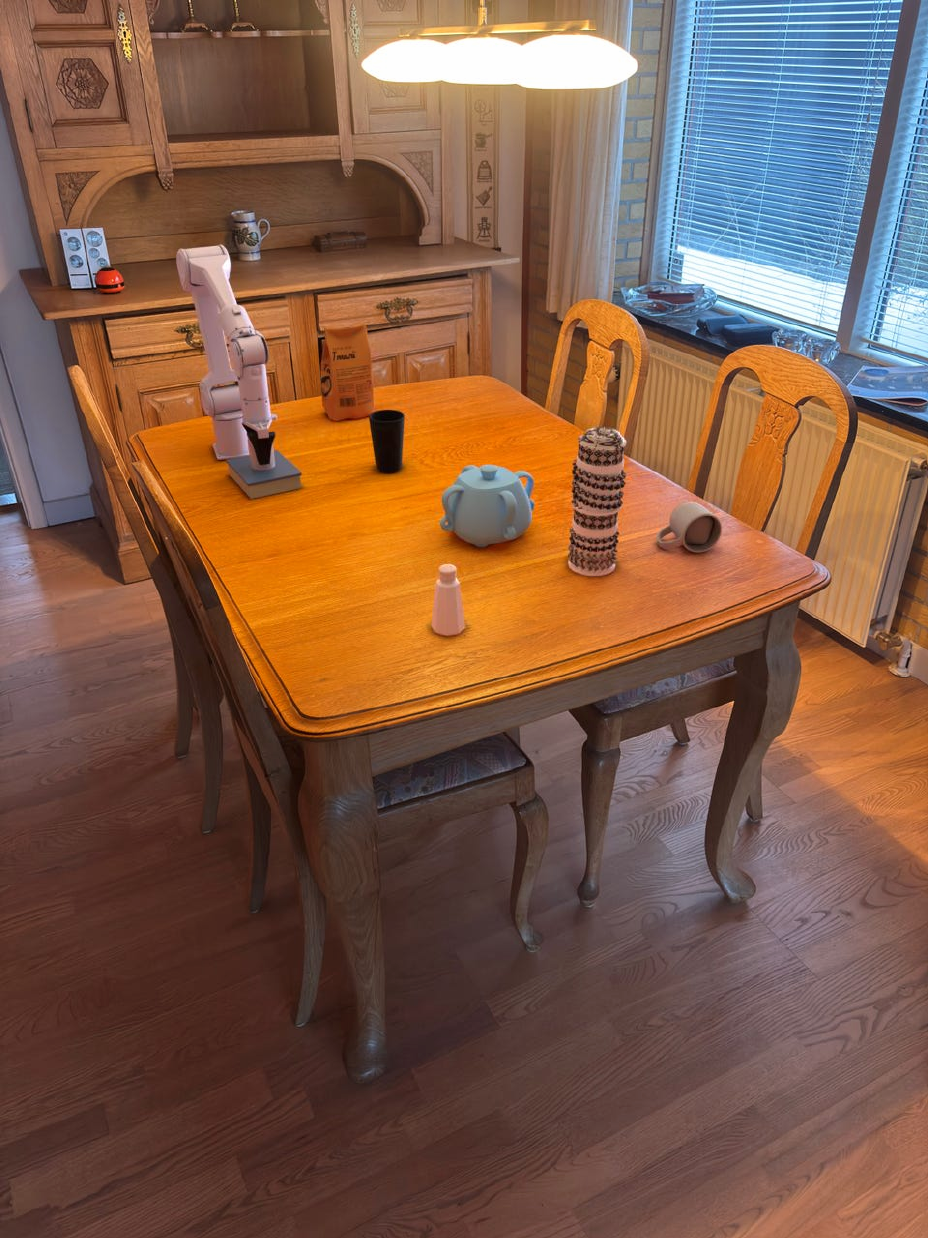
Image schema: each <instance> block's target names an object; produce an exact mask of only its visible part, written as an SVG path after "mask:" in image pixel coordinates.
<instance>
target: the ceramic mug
mask: <svg viewBox="0 0 928 1238" xmlns="http://www.w3.org/2000/svg"><path fill="white" fill-rule="evenodd" d="M722 531H723V526H722V522H721V520H720V518H719V517H718V516H717V515H715V514H714V513H713V512H712V511H710V510H709V509H708V508H706V507H705V506H704V505H702V504H701V503H698V502H695V501H691V500H689V501H684V502H681V503H680V504H678V505H677V506H676V507H674V508H673V510H672V512H671V513H670V516H669V525H666V526H665V527H664V528H662V529H660V530H659V531H658V532H657V534H656V541H657V544H658V547H660V548H661V549H663V550H672V549H675V548H678V547H681V546H683V547H684V548H685V549H686V550H688V551H689V552H692V553H698V554H699V553H704V552H707V551H709V550H712V548H713V547H715V546H716V545H717V544H718V543H719V541H720V539H721V536H722ZM671 533H673V534H674V536H675V539H673V540H669V541H663V538H664V537H666V536H667V535H669V534H671Z"/></svg>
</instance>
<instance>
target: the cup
mask: <svg viewBox="0 0 928 1238" xmlns="http://www.w3.org/2000/svg"><path fill="white" fill-rule="evenodd" d="M405 420H406V415H405V413H404V412H402V411H400V410H395V409H381V410H375V412H373V413H371V414H370V415H369V416H368V421H369V427H370V428H369V429H370V434H371V439H372V447H373V455H374V461H375V466H376V470H377V471H378V472H380V473H382V474H395V473H398V472H400V471H402V469H403V456H404V454H403V453H404V438H405V422H406V421H405Z"/></svg>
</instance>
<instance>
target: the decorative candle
mask: <svg viewBox="0 0 928 1238" xmlns="http://www.w3.org/2000/svg"><path fill="white" fill-rule="evenodd" d="M577 442H578V451H577V456H576V459H574V460H573V463H572V466H573V467H572V468H573V469H572V470H571V474H572V475H573V477H572V481H571V484H572V489H571V490H570V491H571V493H572V500H571V505H572V507H573V518H572V522H571V523H572V524H571V528H570V529H569V532H570V536H569V538H568V539H569V541H570V542H569V545H568V551H569V552H568V554H567V557H568V561H567V565H568V567H569V569H570V570H572V572H574V573H576V574H579V575H582V576H586V577H602V576H606V575H610V573H612V572H614V571H615V569H616V560H618V557H617V553H618V551H619V550H618V548H617V546H618V543H619V539H618V537H619V535H620V532H619V531H618V530H619V529H618V526H619V521H618V517H619V511H621V509H622V505H623V504H624V502H623V500H622V498H623V497H624V495H625V493H624V492H623V491H622V490H621V489H623V488H625V486H626V485H627V484H626V481H625V479H626V478H627V472H625V470H624V469H623V468H624V467H625V466H624V465H625V458H624V453H625V447H626V446H627V444H628V441H627V439H626V438H625V437H623V436H622V435H621V433H620V432H619V431H618V430H617V429H615V428H611V427H606V426H596V427H591V428H589V429H587V430H586V431H585V432H584V433H583V434H582V435H580V436H579V437H578V438H577Z"/></svg>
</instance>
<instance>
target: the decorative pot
mask: <svg viewBox="0 0 928 1238" xmlns="http://www.w3.org/2000/svg"><path fill="white" fill-rule="evenodd" d="M521 478H526V485H525V486H524V485H523V483H522V481H521ZM534 485H535V480H534V476H532V474H530V473H529V472H528V471H523V470H518V471H516V472H515V471H514V472H513V471H511V470H510V469H508V468H506V467H503V466H498V465H494V464H483V465H481V466H480V467H477V465H472V464H471V465H470V464H469V465H466V466H464V467H463V468H462V470H461V473H460V474H459V475H457V477H456V479H455V481H454V482H453V484H452V485H451V486H448V487H447V488H446V489H445V490H443V492H442V494H441V505H442V508H443V511H444V517H442V518H441V519H440V521H439V527H440V529H441V530H442V531H446V532H451V531H452V532H453V533H454V534H455V535H456V536H457V537H459V538H460V539H461V540H463V541H465V542H466V543H468V544H472V545H474V546H476V547H477V548H485V547H488V545H492V544H493V545H495V544H500V543H504V542H509V541H513V540H516V539H518V538H519V537H520V536H522V535H523V534H524V533H525V532H526V531H527V530H528V529H529V527H530V526H531V523H532V521H533V514H532V513H533V511H534V509H535V507H536V505H535V504H536V503H535V502H534V500H533V499H532V498H531V495H532V494H533V489H534ZM446 523H447V524H446Z"/></svg>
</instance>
